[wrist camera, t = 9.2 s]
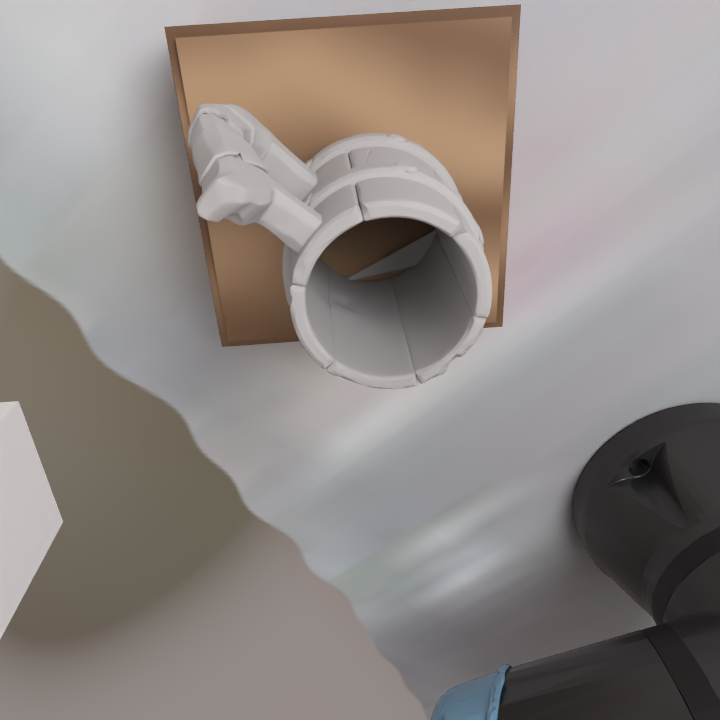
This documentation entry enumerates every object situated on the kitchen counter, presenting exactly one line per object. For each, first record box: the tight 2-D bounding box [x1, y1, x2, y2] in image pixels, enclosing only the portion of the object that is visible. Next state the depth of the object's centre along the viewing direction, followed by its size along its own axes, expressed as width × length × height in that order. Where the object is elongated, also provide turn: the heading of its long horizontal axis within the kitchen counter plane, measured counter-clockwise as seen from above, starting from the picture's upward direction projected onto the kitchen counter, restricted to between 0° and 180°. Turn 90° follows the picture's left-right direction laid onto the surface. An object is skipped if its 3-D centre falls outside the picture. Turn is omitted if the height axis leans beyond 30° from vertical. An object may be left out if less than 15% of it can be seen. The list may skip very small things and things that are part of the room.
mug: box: [188, 104, 492, 389], centre depth 22 cm, size 8×12×12 cm, turn 52°
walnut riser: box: [165, 5, 521, 347], centre depth 30 cm, size 14×14×6 cm
